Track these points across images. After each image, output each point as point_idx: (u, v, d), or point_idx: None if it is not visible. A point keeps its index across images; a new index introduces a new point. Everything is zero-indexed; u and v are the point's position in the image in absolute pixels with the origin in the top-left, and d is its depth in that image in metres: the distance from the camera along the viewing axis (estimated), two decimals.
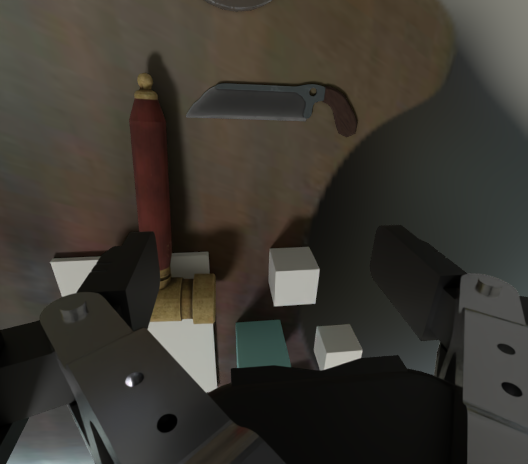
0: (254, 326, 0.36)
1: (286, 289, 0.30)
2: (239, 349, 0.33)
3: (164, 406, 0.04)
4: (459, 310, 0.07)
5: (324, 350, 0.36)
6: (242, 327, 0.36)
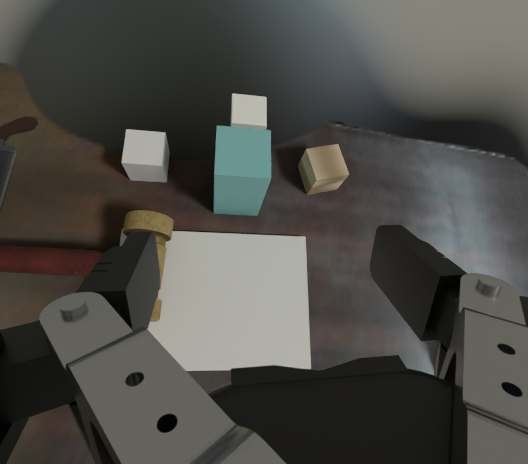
0: None
1: (143, 154, 0.34)
2: (214, 198, 0.34)
3: (164, 406, 0.04)
4: (459, 310, 0.07)
5: (233, 126, 0.37)
6: None
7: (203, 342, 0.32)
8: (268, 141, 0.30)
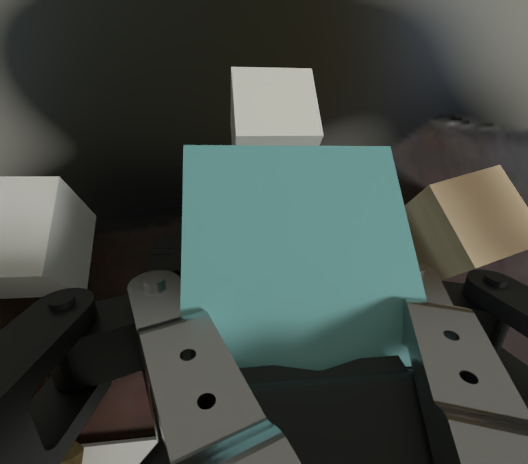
0: None
1: None
2: None
3: (207, 385, 0.05)
4: None
5: (242, 144, 0.15)
6: None
7: None
8: (391, 190, 0.08)
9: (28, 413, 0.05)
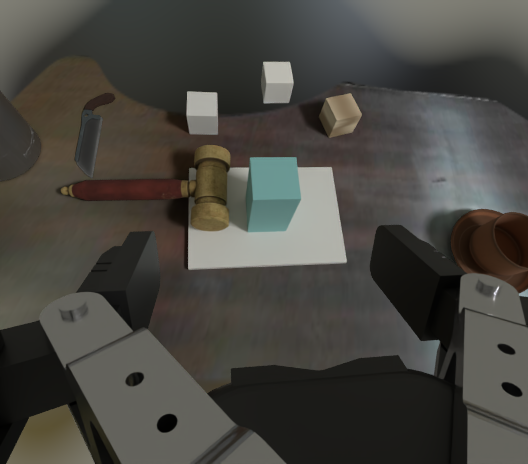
0: None
1: (202, 109, 0.44)
2: (249, 219, 0.38)
3: (164, 406, 0.04)
4: (459, 310, 0.07)
5: (268, 86, 0.47)
6: (247, 225, 0.41)
7: (261, 245, 0.41)
8: (295, 167, 0.35)
9: None
